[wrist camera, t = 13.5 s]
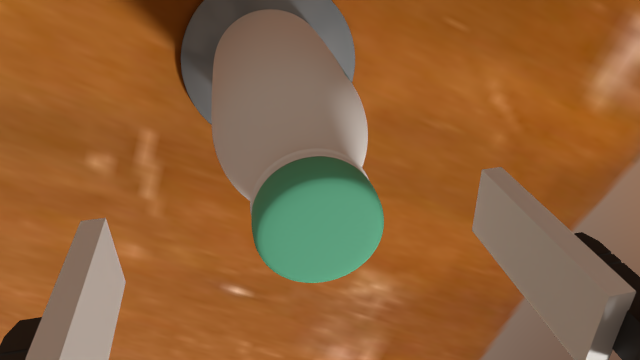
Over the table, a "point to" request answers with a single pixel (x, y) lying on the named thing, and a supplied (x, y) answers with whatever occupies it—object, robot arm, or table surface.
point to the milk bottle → (294, 147)
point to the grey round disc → (231, 4)
